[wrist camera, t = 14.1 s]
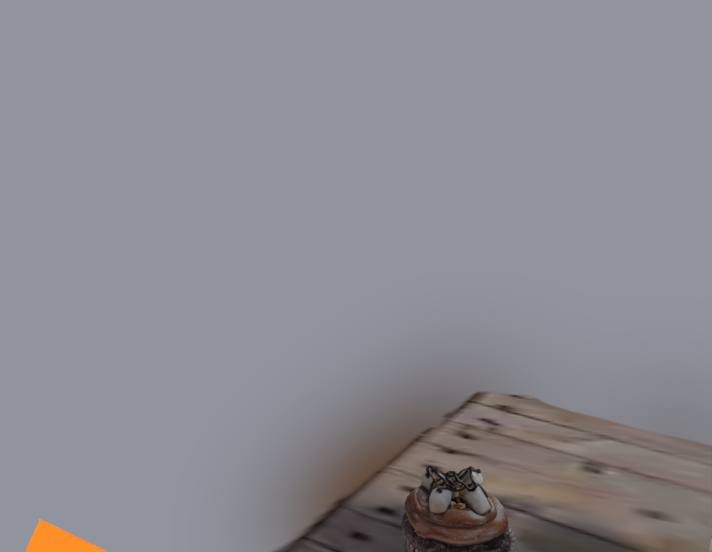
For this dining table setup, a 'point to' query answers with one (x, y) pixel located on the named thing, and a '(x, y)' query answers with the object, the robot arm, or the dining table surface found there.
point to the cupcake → (455, 515)
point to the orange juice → (58, 541)
